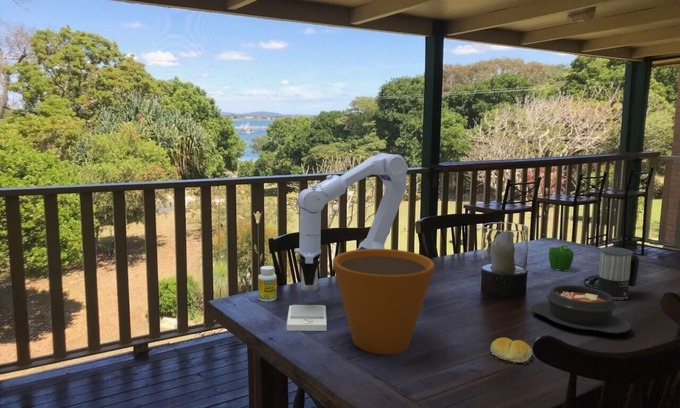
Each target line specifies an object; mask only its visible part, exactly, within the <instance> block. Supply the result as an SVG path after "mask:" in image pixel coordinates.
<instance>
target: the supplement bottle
mask: <svg viewBox="0 0 680 408" xmlns="http://www.w3.org/2000/svg"><path fill="white" fill-rule="evenodd" d="M259 269H260V274H259V275H258V277H257V284H258V285H257V286H258V291H257V292H258V293H257V294H258V298H257V299H258V300H259V301H261V302H267V303H268V302H274V301H275V300H276V299H277V294H278V293H277V292H278V291H277V287H278V286H277V281H278V280H277V274H275V267H274V266H272V265H263V266H261V267H260V268H259Z"/></svg>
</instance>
